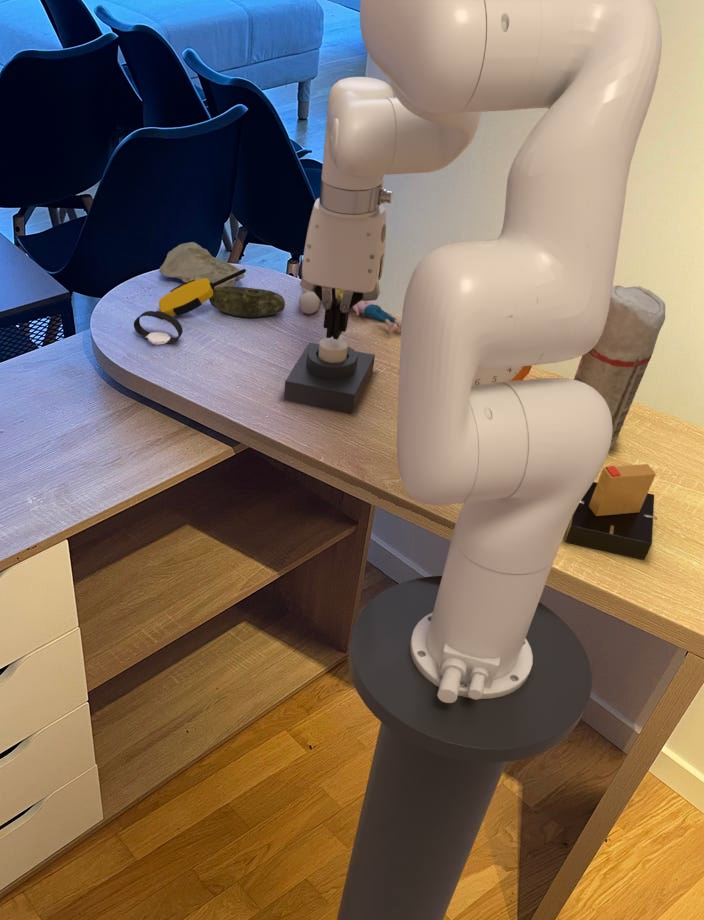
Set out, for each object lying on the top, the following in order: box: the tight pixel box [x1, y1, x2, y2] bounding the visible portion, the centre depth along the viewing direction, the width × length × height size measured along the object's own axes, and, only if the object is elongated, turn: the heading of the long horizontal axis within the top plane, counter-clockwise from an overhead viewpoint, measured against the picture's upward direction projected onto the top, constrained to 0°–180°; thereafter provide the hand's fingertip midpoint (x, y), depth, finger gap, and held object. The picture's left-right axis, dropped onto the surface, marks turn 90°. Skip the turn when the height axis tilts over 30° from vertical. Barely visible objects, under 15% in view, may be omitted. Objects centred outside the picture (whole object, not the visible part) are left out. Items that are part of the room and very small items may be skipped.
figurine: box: [336, 289, 402, 334], centre depth 144 cm, size 6×4×15 cm
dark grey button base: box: [283, 342, 376, 415], centre depth 128 cm, size 12×10×5 cm
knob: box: [589, 463, 657, 516], centre depth 105 cm, size 6×2×6 cm, turn 99°
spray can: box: [573, 285, 666, 452], centre depth 115 cm, size 8×8×20 cm
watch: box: [133, 310, 183, 345], centre depth 137 cm, size 8×5×4 cm
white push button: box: [318, 336, 349, 363], centre depth 126 cm, size 4×4×2 cm
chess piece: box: [298, 288, 322, 315], centre depth 147 cm, size 5×5×9 cm
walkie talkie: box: [158, 268, 247, 317], centre depth 142 cm, size 5×2×15 cm
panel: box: [564, 481, 658, 561], centre depth 108 cm, size 10×10×3 cm
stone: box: [158, 241, 246, 288], centre depth 153 cm, size 15×3×10 cm
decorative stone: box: [208, 286, 286, 319], centre depth 144 cm, size 12×5×4 cm, turn 101°
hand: (334, 334), depth 125 cm, fingers closed
